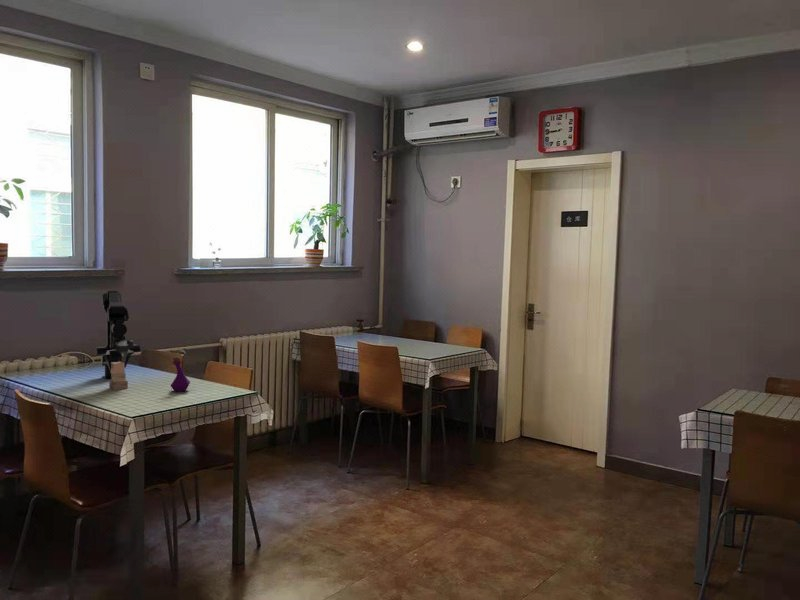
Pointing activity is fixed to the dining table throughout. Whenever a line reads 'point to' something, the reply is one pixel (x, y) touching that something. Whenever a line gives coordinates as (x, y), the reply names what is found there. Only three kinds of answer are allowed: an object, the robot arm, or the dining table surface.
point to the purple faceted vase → (179, 377)
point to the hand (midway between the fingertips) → (117, 368)
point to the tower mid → (118, 377)
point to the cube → (117, 368)
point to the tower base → (118, 385)
